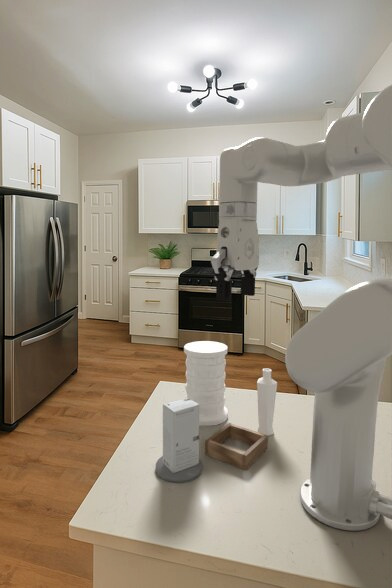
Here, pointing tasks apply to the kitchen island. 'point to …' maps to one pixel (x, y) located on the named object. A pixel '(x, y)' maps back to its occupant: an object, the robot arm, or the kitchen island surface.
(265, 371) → the white faceted vase
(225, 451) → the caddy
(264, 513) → the kitchen island surface
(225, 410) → the decorative container
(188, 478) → the coaster
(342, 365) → the robot arm
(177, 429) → the skincare box
